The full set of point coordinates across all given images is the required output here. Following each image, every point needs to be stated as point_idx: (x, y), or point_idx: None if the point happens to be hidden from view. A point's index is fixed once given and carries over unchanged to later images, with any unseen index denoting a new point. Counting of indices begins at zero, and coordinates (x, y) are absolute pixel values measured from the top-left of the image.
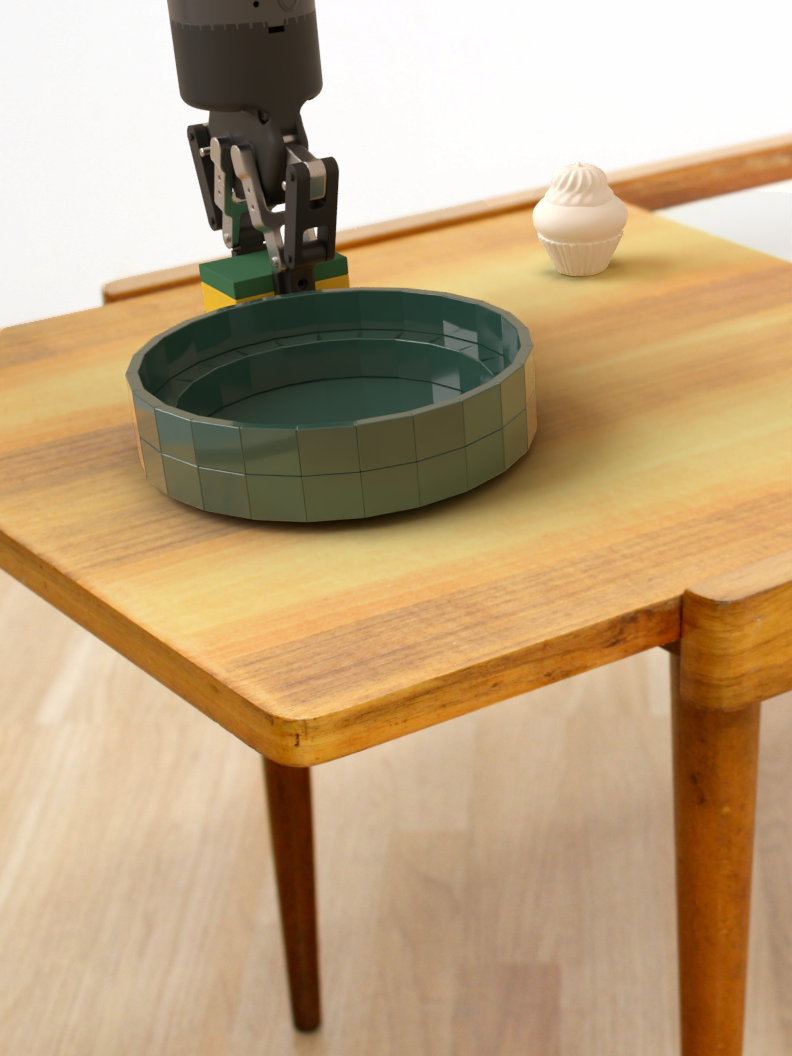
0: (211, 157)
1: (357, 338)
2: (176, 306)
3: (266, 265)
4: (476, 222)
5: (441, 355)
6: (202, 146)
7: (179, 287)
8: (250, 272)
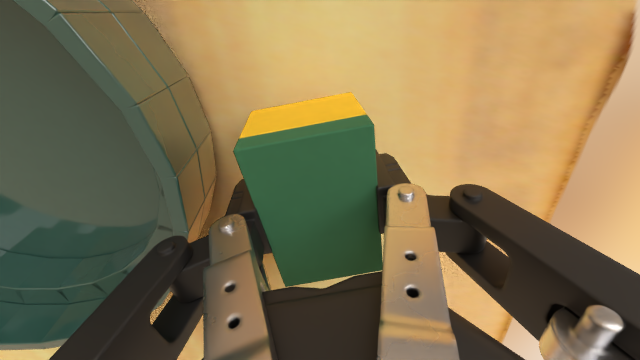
0: (448, 346)
1: (157, 225)
2: (538, 90)
3: (300, 209)
4: (502, 331)
5: (114, 267)
6: (631, 334)
7: (595, 110)
8: (275, 184)
